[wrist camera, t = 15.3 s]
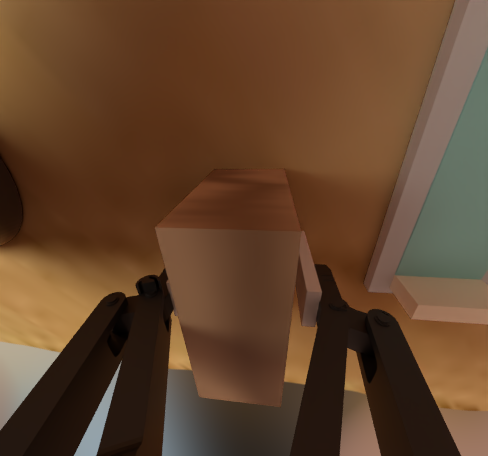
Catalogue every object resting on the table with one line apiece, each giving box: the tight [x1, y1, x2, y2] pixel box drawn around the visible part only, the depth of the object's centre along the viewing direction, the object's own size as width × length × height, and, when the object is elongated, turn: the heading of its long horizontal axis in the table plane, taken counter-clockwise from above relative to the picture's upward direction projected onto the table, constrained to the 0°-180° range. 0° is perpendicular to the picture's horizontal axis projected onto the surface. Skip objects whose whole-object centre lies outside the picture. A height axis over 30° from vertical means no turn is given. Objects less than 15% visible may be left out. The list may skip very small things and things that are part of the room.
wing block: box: [155, 169, 301, 407], centre depth 14 cm, size 5×12×9 cm, turn 2°
